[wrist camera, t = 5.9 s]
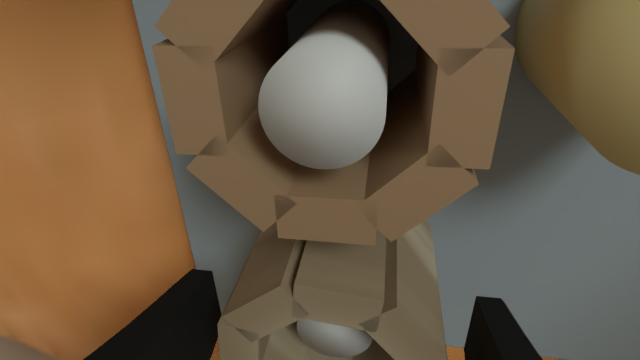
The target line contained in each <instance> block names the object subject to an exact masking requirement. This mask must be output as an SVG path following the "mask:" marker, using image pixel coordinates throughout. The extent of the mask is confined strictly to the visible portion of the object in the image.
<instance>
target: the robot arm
mask: <svg viewBox="0 0 640 360" xmlns="http://www.w3.org/2000/svg"><path fill="white" fill-rule="evenodd" d="M221 315H222V314H221V310H220V305H219V300H218V296H217V291H216V286H215V282H214V277H213V272H212V271H208V270H197V269H192V270H191V271H189V272H188V273H187V274H186V275H185V276H184V277H182V278H181V279H180V280H179V281H178V282H177V283H175V284H174V285H173V286H172V287H171V288H170V289H169V290H168V291H166V292H165V293H164V294H163V295H162V296H161V297H160V298H158V299H157V300H156V301H155V302H154V303H153V304H152V305H150V306H149V307H148V308H147V309H146V310H145V311H143V312H142V313H141V314H140V315H139V316H138V317H136V318H135V319H134V320H133V321H132V322H131V323H129V324H128V325H127V326H126V327H125V328H123V329H122V330H121V331H119V332H118V333H117V334H116V335H114V336H113V337H112V338H111V339H109V340H108V341H107V342H106V343H104V344H103V345H102V346H100V347H99V348H98V349H97V350H95V351H94V352H93V353H91V354H90V355H89V356H87V357H86V358H85V359H83V360H210V358H211V355H212V353H213V350H214V347H215V344H216V341H217V338H218V326H217V324H218V322H219V320H220V318H221ZM464 353H465V360H543V359H542V358H541V356H540V355H539V354H538V352H537V351H536V349H535V348H534V346H533V345H532V343H531V342H530V341H529V339H528V338H527V336H526V335H525V333H524V332H523V330H522V329H521V327H520V326H519V324H518V323H517V321H516V319H515V318H514V316H513V315H512V313H511V312H510V310H509V308H508V307H507V305H506V304H505V302H504V301H503V300H502V299H501V298H493V297H482V296H476V299H475V303H474V307H473V312H472V316H471V320H470V325H469V329H468V333H467V338H466V342H465V346H464Z"/></svg>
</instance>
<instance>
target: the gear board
mask: <svg viewBox="0 0 640 360" xmlns="http://www.w3.org/2000/svg"><path fill="white" fill-rule="evenodd" d="M132 2H133V7H134V11H135V15H136V19H137V23H138V28H139V32H140V36H141V40H142V44H143V48H144V53H145V57H146V61H147V65H148V69H149V74H150V78H151V82H152V86H153V90H154V94H155V99H156V103H157V107H158V111H159V115H160V120H161V124H162V128H163V132H164V136H165V140H166V145H167V149H168V153H169V157H170V161H171V166H172V170H173V174H174V178H175V182H176V186H177V191H178V195H179V199H180V203H181V207H182V212H183V216H184V220H185V224H186V228H187V233H188V237H189V241H190V245H191V249H192V253H193V258H194V262H195V266H196V269H197V270H208V271H212V272H213V277H214V282H215V286H216V291H217V296H218V300H219V305H220V310H221V314H222V313H223V311H224V309H225V307H226V305H227V302H228V300H229V298H230V296H231V294H232V292H233V289H234V287H235V285H236V283H237V281H238V279H239V276H240V274H241V272H242V270H243V268H244V266H245V263H246V261H247V259H248V257H249V255H250V253H251V251H252V248H253V246H254V244H255V242H256V240H257V238H258V235H259V233H260V231H263V232H264V231H265V230H266V229H268V228H269V227H270V226H271V225H272V224H274V223H275V222H277V232H278V238H285V239H297V240H310V241H322V242H335V243H347V244H360V245H372V246H376V234H377V229H378V230H379V231H380V232H381V233H382V234H383V235H384V236H385V237H387V238H388V239H389V240H390V241H391V242H392V241H394V240H395V239H397V238H398V237H400V236H401V235H403V234H405V233H406V232H408V231H409V230H411V229H412V228H414V227H415V226H417V225H418V224H420V223H421V222H423V221H424V220H426V221H427V222H428V223H429V225H430V228H431V233H432V238H433V246H434V254H435V262H436V270H437V278H438V286H439V294H440V302H441V310H442V319H443V327H444V335H445V343H446V346H452V347H461V348H464V346H465V342H466V338H467V333H468V329H469V325H470V320H471V316H472V312H473V307H474V303H475V299H476V296H482V297H493V298H501V299H502V300H503V301H504V302H505V304H506V305H507V307H508V308H509V310H510V312H511V313H512V315H513V316H514V318H515V319H516V321H517V323H518V324H519V326H520V327H521V329H522V330H523V332H524V333H525V335H526V336H527V338H528V339H529V341H530V342H531V343H532V345H533V346H534V348H535V349H536V351H537V352H538V354H539V355H540V356H541V357H549V358H558V359H567V360H640V0H132ZM297 332H298V335H299V336H300V338H301V340H302V341H303V342H304V343H305V344H306V345H307V346H308V347H310V348H311V349H313V350H314V351H316V352H318V353H321V354H323V355H327V356H331V357H351V356H355V355H358V354H360V353H362V352H364V351H365V350H366V349H367V348H368V347H369V346H370V345H371V343H372V340H373V338H372V337H371V336H370V335H369V334H368V333H367V332H366V331H365V330H360V329H354V328H349V327H344V326H339V325H333V324H328V323H323V322H318V321H312V320H307V319H300V320H298V322H297Z"/></svg>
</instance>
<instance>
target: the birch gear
mask: <svg viewBox="0 0 640 360" xmlns="http://www.w3.org/2000/svg"><path fill="white" fill-rule="evenodd" d="M300 319H307V320H312V321H318V322H323V323H328V324H333V325H339V326H344V327H349V328H354V329H360V330H365V331H366V332H367V333H368V334H369V335H370V336H371V337H372V338H373V340H372V343H371V345H370V346H369V347H368V348H367V349H366V350H365V351H364V352H362V353H360V354H358V355H355V356H351V357H331V356H327V355H323V354H321V353H318V352H316V351H314V350H313V349H311V348H310V347H308V346H307V345H306V344H305V343H304V342H303V341H302V340H301V338H300V336H299V335H298V332H297V322H298V320H300ZM217 326H218V341H219V357H220V360H448V359H447V351H446V343H445V335H444V327H443V319H442V310H441V302H440V294H439V286H438V278H437V270H436V262H435V254H434V246H433V238H432V233H431V228H430V225H429V223H428V222H427V221H426V220H424V221H423V222H421V223H420V224H418V225H417V226H415V227H414V228H412V229H411V230H409V231H408V232H406V233H405V234H403V235H401V236H400V237H398V238H397V239H395V240H394V241H392V242H391V241H390V240H389V239H388V238H387V237H385V236H384V235H383V234H382V233H381V232H380V231H379V230H378V229H377V234H376V246H372V245H360V244H347V243H335V242H322V241H310V240H297V239H285V238H278V232H277V222H275V223H274V224H272V225H271V226H270V227H269V228H268V229H266V230H265V231H264V232H263V231H260V233H259V235H258V238H257V240H256V242H255V244H254V246H253V248H252V251H251V253H250V255H249V257H248V259H247V261H246V263H245V266H244V268H243V270H242V272H241V274H240V276H239V279H238V281H237V283H236V285H235V287H234V289H233V292H232V294H231V296H230V298H229V300H228V302H227V305H226V307H225V309H224V311H223V313H222V315H221V318H220V320H219V322H218V324H217Z"/></svg>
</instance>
